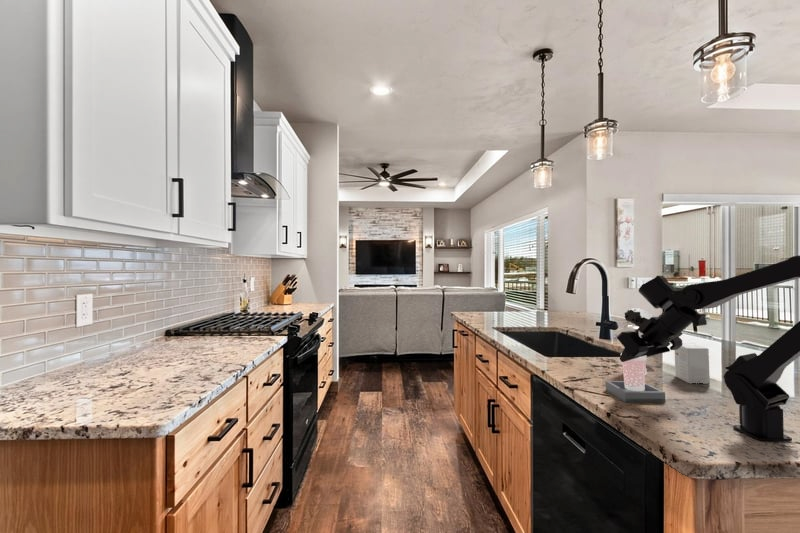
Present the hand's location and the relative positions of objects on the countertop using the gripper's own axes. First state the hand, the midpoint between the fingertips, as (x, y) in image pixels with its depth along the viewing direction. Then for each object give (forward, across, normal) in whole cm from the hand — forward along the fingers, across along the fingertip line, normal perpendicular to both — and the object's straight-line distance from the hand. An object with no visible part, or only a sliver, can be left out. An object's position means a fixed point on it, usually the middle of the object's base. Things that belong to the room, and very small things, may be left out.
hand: (629, 359), depth 104 cm
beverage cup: (+5, 0, +6) cm, 8 cm away
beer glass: (+16, -22, -2) cm, 27 cm away
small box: (+7, -29, +7) cm, 30 cm away
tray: (+6, 0, +8) cm, 10 cm away
